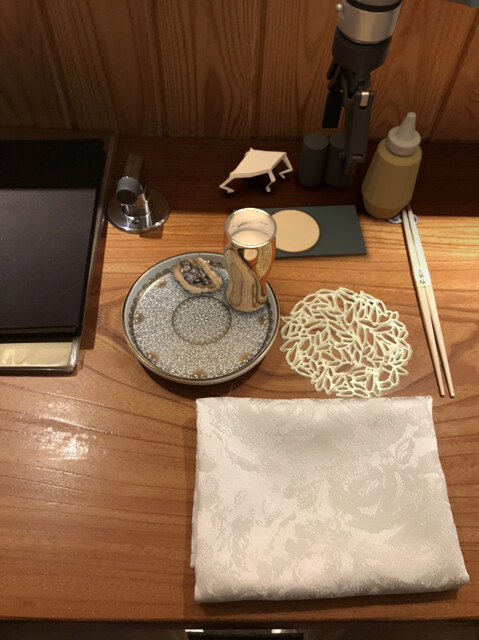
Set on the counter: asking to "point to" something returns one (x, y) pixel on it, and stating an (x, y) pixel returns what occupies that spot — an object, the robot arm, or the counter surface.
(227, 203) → the counter surface
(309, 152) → the black post
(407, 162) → the squeeze bottle
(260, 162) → the origami figure
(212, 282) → the pouch of beans
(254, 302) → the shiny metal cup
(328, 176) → the black cylinder
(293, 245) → the board
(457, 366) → the counter surface
